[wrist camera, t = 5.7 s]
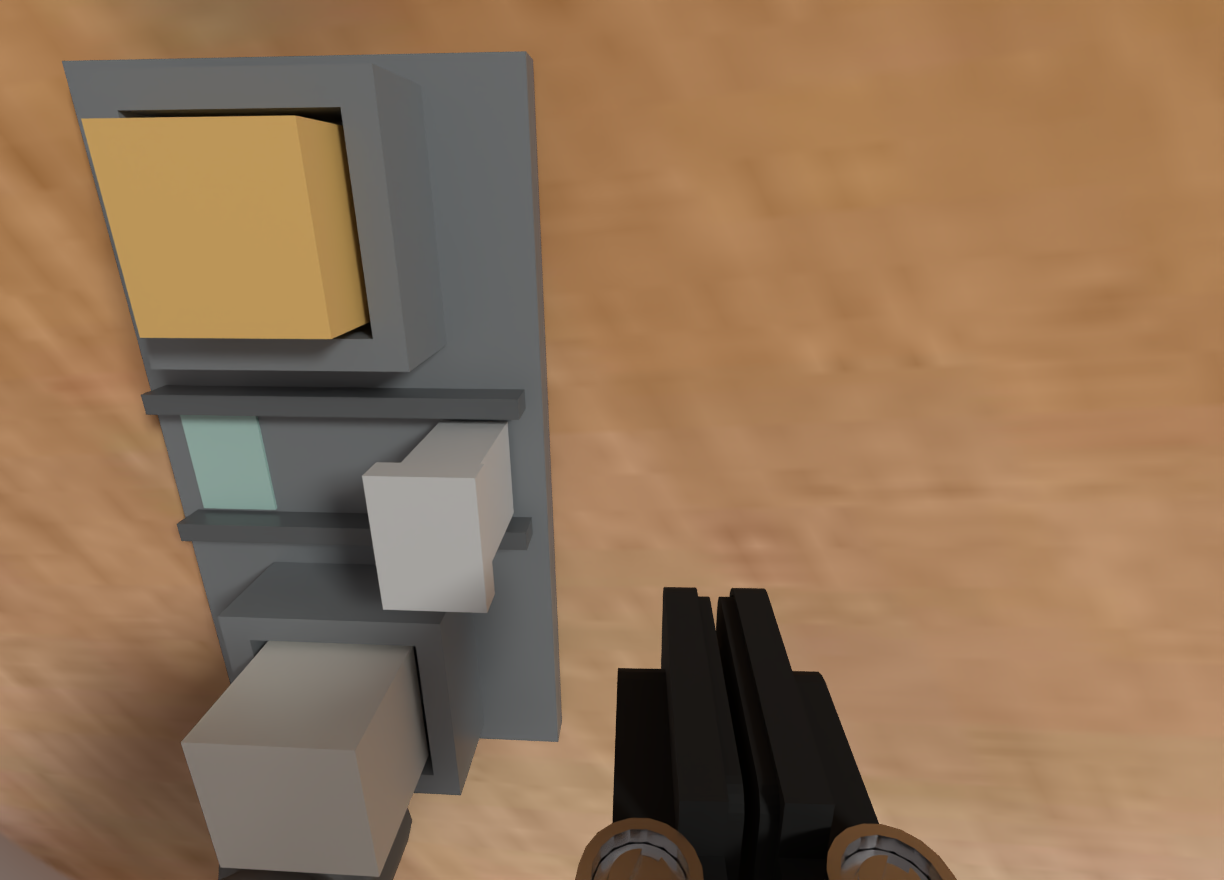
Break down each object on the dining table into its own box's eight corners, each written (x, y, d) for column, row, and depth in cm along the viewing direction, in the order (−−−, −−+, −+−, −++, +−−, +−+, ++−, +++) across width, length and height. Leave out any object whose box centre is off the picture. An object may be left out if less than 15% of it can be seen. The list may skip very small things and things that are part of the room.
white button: (412, 643, 19) (354, 750, 16) (428, 755, 21) (379, 876, 17) (271, 637, 20) (180, 742, 16) (297, 748, 21) (220, 867, 17)
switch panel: (532, 59, 17) (497, 21, 13) (562, 721, 25) (545, 815, 21) (93, 68, 18) (-60, 33, 14) (257, 707, 25) (188, 796, 22)
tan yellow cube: (377, 133, 16) (295, 115, 13) (399, 308, 18) (331, 339, 14) (210, 135, 17) (81, 118, 13) (245, 307, 18) (140, 337, 14)
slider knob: (517, 411, 19) (475, 478, 14) (523, 521, 20) (487, 613, 16) (429, 410, 19) (362, 475, 15) (441, 519, 20) (382, 609, 16)
